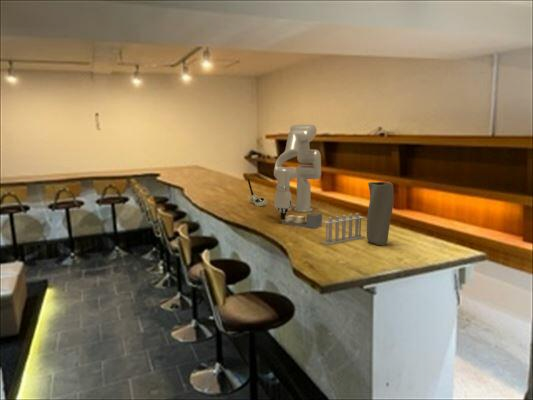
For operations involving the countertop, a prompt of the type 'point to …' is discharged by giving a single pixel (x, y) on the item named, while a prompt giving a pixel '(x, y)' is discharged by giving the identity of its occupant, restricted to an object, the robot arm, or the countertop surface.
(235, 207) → the countertop surface
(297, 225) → the guide channel
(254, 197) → the butterfly valve
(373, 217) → the vase
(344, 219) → the test tube rack
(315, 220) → the end cap
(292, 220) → the beige rectangular block
